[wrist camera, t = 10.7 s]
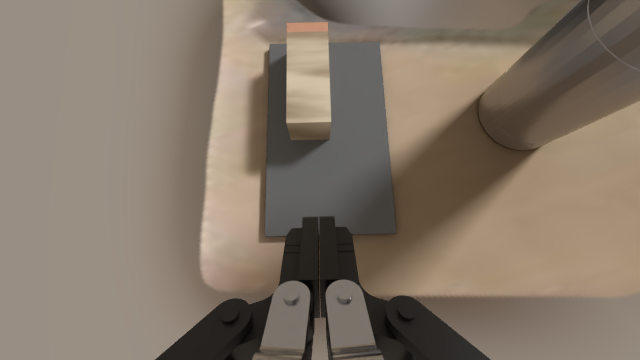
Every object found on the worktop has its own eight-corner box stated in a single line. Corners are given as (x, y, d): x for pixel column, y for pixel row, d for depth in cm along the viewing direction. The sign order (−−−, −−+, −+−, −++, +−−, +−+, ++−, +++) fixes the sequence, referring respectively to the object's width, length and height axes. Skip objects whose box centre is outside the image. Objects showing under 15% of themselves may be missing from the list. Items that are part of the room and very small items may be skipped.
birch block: (290, 140, 32) (291, 51, 35) (329, 139, 32) (326, 50, 35) (286, 122, 27) (286, 23, 30) (331, 121, 27) (327, 22, 30)
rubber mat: (270, 47, 36) (269, 44, 35) (378, 45, 36) (379, 41, 35) (265, 236, 30) (264, 236, 29) (395, 233, 30) (396, 233, 29)
